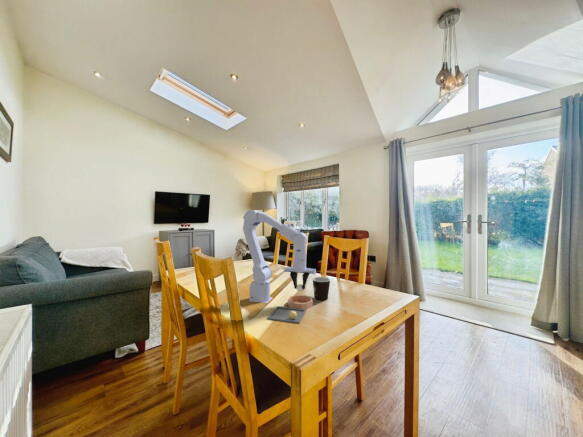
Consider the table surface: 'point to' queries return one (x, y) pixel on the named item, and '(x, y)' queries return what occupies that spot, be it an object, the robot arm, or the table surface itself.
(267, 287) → the robot arm
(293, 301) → the bowl
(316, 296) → the coffee mug
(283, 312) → the parts tray
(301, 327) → the table surface
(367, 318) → the table surface
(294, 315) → the tan ball
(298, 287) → the white ball
